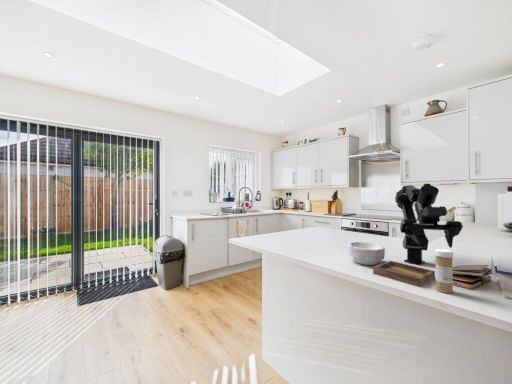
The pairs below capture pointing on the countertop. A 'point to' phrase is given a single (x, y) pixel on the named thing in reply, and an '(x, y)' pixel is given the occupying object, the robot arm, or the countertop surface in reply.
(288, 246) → the countertop surface
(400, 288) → the countertop surface
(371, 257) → the paper bowls
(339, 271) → the countertop surface
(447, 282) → the sprinkles bottle
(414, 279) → the walnut tray
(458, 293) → the countertop surface
